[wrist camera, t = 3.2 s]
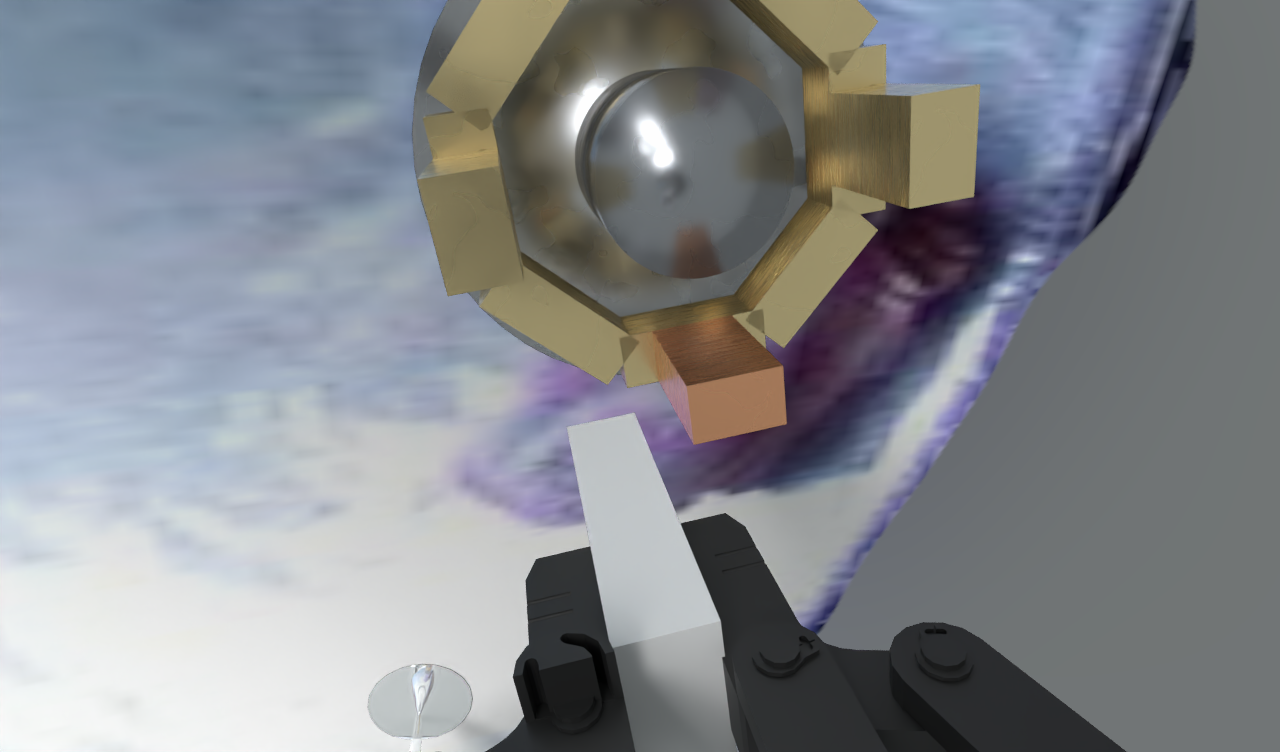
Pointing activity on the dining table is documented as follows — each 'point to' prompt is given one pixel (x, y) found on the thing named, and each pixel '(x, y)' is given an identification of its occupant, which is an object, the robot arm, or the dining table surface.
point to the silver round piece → (642, 148)
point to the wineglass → (419, 703)
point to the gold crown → (786, 274)
